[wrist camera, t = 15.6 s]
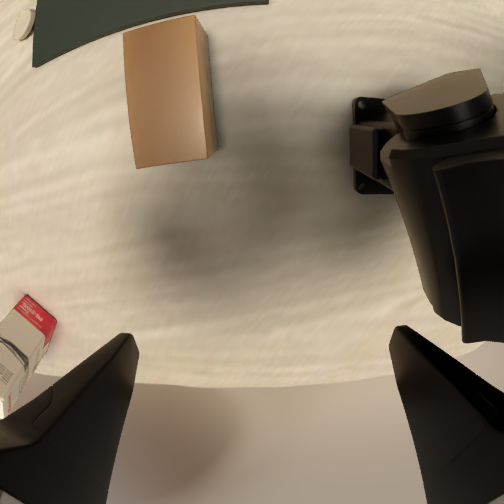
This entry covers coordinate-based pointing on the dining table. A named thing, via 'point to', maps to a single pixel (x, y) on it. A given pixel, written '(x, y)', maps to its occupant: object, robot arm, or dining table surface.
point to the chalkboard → (103, 20)
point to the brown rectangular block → (169, 92)
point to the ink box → (21, 348)
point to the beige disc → (24, 24)
